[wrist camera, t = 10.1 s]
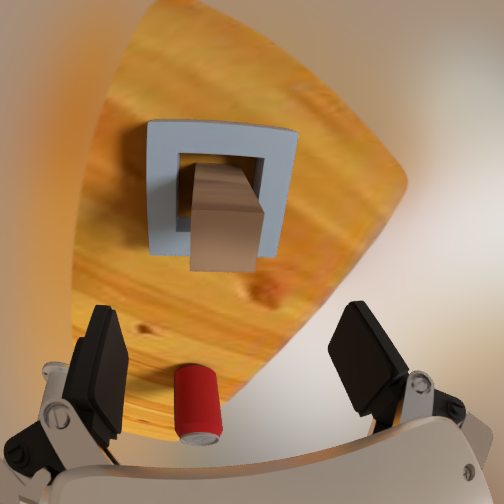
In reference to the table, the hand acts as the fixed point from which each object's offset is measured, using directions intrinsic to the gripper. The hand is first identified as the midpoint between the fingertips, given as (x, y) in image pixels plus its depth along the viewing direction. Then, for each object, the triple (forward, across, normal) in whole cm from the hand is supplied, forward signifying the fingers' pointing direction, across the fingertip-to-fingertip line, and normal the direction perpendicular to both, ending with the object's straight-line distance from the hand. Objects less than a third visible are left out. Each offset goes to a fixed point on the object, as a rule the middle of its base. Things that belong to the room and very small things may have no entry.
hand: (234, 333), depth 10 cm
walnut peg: (+18, 0, 0) cm, 18 cm away
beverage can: (+18, +2, +30) cm, 35 cm away
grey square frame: (+17, 0, 0) cm, 17 cm away
